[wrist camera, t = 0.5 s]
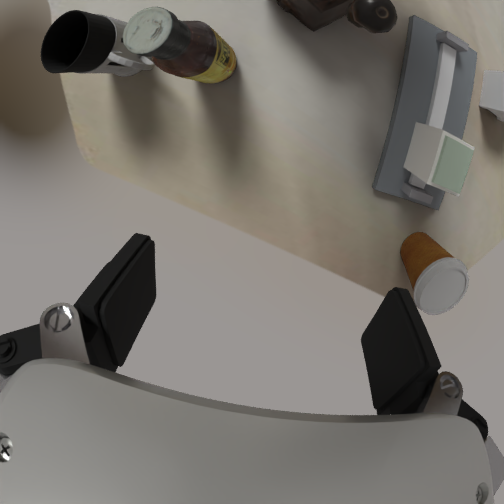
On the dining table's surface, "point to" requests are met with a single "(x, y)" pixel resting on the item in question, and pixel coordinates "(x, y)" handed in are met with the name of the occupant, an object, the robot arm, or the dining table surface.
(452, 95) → the rail board
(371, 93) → the dining table surface
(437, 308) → the disposable coffee cup
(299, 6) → the pepper mill
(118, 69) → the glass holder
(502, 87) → the module
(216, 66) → the sauce bottle
